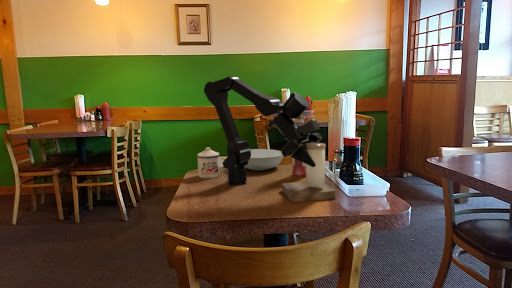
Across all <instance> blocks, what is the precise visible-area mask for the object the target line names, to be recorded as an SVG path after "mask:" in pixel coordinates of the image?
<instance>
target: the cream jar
mask: <svg viewBox="0 0 512 288" xmlns="http://www.w3.org/2000/svg"><path fill="white" fill-rule="evenodd" d="M326 148H327V146H326V143H324V142H319V143H307V144H306V150H307V152H308V154H309V155H310V157H311V158H312V159H313V161H314V163H315V164H316V166H315V167H311V166H309V165H307V164H306V176H305V182H306V185H308V186H313V187H319V186H324V185H325V184H326Z"/></svg>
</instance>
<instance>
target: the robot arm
mask: <svg viewBox="0 0 512 288" xmlns="http://www.w3.org/2000/svg"><path fill="white" fill-rule="evenodd" d="M231 91H233V92H235V93H237V94H238V95H240V96H241V97H242V98H244V99H246V100H247V101H249V102H250V103H252V105H254V108H255V109H256V111H258V112H259V113H260V114H261V115H262V116H264V117H272V116H274V117H272V118H270V119H268V128H269V129H270V128H273V127H276V129H277V130H278V131H279V132H280V134H282V136H281V138H282V139H283V140H286V141H287V143H285V144H284V146H283V147H281V149H280V150H281V154H282V155H283V157H284V158H285V159H286V158H288V157H289V158H291V159H292V158H294V159H296V160H299V161H301V162H303V163H305V164H307V165H309V166H311V167H315V166H316V164H315V163H314V161H313V159H312V158H311V157H310V155H309V154H308V152H307V150H306V144H307V143H321V140H322V139H323V136H322V135H321V134H320V133H318V132H315V131H319V130H321V129H320V121H318V120H316V119H315V118H312V119H310V120H308V121H307V122H305V123H304V125H301V124H296V121H295V120H296V119H298V118H299V117H300V116H301V115H302V114H304V112H305V111H306V110H308V108H309V107H310V103H309V100H307V99H306V97H305V98H304V96H302V95H300V94H299V93H298V92H292V93H291V94H290V96H289V97H288V98H287V100H286V101H285V102H283V101H282V100H280V99H279V98H277V97H274V96H271V95H267V94H265V93H262V92H260V91H258V90H257V89H256V88H254V87H252V86H251V85H249V84H247V82H244V80H241V79H240V78H239V77H237V76H232V75H230V76H227V77H224V78H221V79H218V80H215V81H207V82H206V84H205V85H204V88H203V92H204V94H205V97H206V99H207V100H208V101H209V102H210V103H211V105H213V106H214V108H215V111H216V114H217V117H218V120H219V121H220V124H221V125H220V126H221V128H222V131H223V133H224V136H225V139H226V142H227V145H226V146H227V147H226V154H227V157H226V158H225V160H224V159H223V162H222V167H223V166H224V169H226V170H227V175H226V176H227V179H226V182H227V185H228V186H235V185H236V186H237V185H238V186H239V185H246V184H247V181H248V178H247V177H248V176H247V170H246V168H245V167H244V166H245V165H248V161H249V159H250V157H251V152H250V151H252V149H251V147H250V144H249V142H248V140H243V139H242V138H241V136H240V134H239V131H238V127H237V125H236V122H235V119H234V117H233V115H232V111H231V109H230V105H229V104H228V99H229V92H231ZM294 119H295V120H294ZM313 132H315V133H313ZM307 137H308V138H307Z"/></svg>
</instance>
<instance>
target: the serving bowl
mask: <svg viewBox="0 0 512 288" xmlns="http://www.w3.org/2000/svg"><path fill="white" fill-rule="evenodd" d="M251 150H252V151H250V152H251V157H250V159H249V161H248V165H245V166H244V167H245V169H249V170H250V171H251V170H252V171H265V170H269V169H272V168H276V167H277V166H278V165H279V164H281V162H282V160H283V157H284V156H283V155H282V154H281V151H280V150H277V149H276V150H275V149H270V148H269V149H266V148H260V149H259V148H255V149H254V148H253V149H251Z"/></svg>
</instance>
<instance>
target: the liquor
mask: <svg viewBox="0 0 512 288" xmlns="http://www.w3.org/2000/svg"><path fill="white" fill-rule="evenodd" d="M303 114H304V113H303ZM303 114H302V115H301V116H300V117H299V118H298V119H296V118H295V123H296V124H301V125H304V124H305V123H304V122H305V121H304V115H303ZM307 138H308V137H307ZM291 160H292V171H291V174H292V175H293V176H295V177H297V178H303V177H305V178H306V164H305V163H303V162H301V161H299V160H296V159H294V158H291Z"/></svg>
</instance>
